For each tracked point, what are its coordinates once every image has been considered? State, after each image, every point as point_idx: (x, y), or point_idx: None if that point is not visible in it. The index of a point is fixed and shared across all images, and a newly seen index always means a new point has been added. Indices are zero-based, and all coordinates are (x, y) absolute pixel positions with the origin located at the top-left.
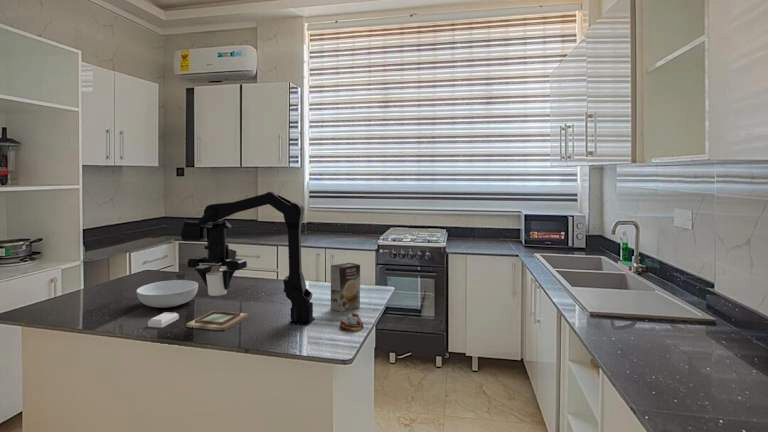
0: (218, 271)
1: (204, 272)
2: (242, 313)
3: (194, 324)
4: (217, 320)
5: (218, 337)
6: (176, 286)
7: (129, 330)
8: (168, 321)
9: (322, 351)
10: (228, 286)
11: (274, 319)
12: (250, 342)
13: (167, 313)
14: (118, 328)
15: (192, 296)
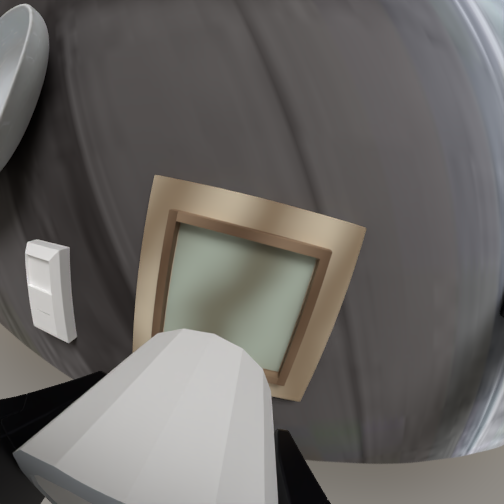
0: (82, 499)
1: (31, 493)
2: (332, 218)
3: None
4: (239, 332)
5: (295, 435)
6: (3, 34)
7: (34, 343)
8: (67, 308)
9: (494, 439)
10: (295, 450)
11: (465, 266)
12: (388, 449)
13: (32, 254)
14: (12, 322)
15: (39, 77)
